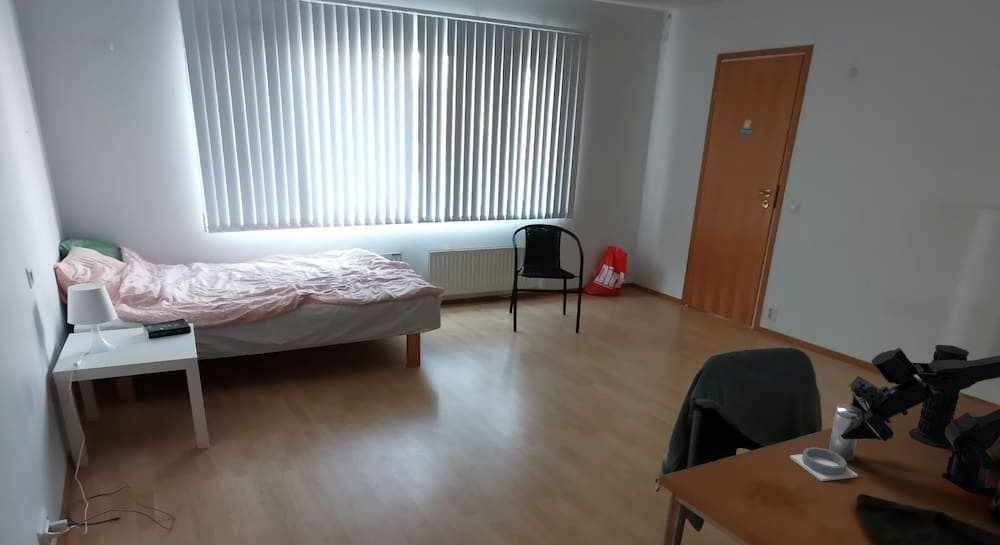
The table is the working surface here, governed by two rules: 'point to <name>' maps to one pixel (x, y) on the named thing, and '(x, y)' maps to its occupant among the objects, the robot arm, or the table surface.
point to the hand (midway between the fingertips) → (839, 428)
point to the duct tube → (842, 422)
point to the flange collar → (824, 464)
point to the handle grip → (938, 416)
